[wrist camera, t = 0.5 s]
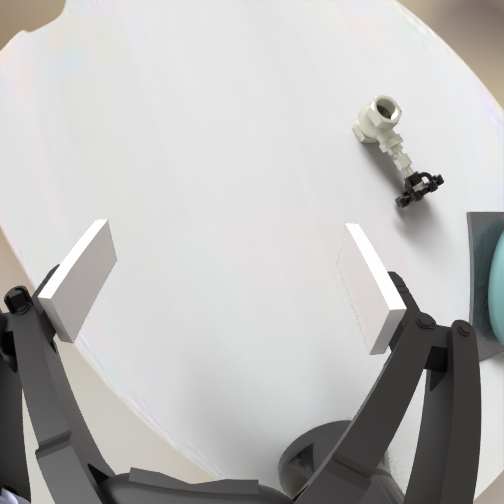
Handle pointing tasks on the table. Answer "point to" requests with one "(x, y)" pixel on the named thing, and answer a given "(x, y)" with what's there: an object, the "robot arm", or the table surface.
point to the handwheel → (497, 291)
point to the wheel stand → (483, 277)
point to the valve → (392, 145)
